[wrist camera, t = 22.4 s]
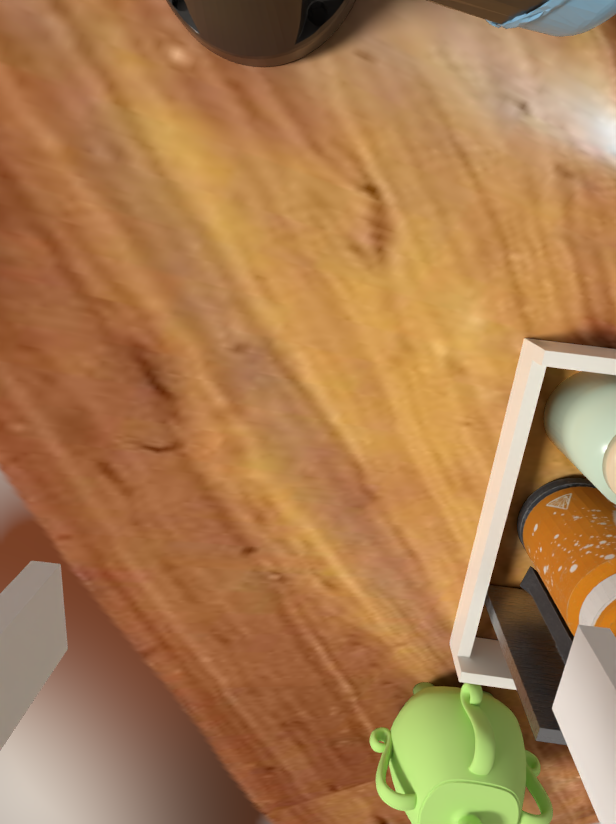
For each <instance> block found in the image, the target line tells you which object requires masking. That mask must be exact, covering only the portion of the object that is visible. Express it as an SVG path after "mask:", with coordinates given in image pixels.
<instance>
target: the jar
mask: <svg viewBox="0 0 616 824" xmlns="http://www.w3.org/2000/svg"><path fill="white" fill-rule="evenodd" d="M543 420H544V427H545V431H546V433H547V435H548V437H549V439H550V440H551V441H552V442H553V444H554V445H555V446H556V447H557V448H558V449H559V450H560V451H561V452H562V453H563V454H564V455H565V456H566V457H567V458H568V459H569V460H570V461H571V462H572V463H573V464H574V465H575V466H576V467H577V468H578V469H579V470H580V471H581V472H582V473H583V474H584V475H585V476H586V477H587V479H588V480H589V481H590V482H591V483H592V484H593V485H594V486H595V487H596V488H597V489H598V490H599V491H600V492H601V493H602V494H603V495H604V496H605V497H606V498H607V499H608V500H610V501H611V502H613V503H614V504H616V375H610V374H602V373H594V372H586V371H582V372H579V373H576V374H574V375H572V376H570V377H569V378H567V379H566V380H564V381H563V382H562V383H560V384H559V385H558V386H557V387H556V389H555V390H554V391H553V392H552V394H551V395H550V397H549V399H548V401H547V403H546V406H545V410H544V418H543Z"/></svg>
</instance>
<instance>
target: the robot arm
mask: <svg viewBox="0 0 616 824" xmlns="http://www.w3.org/2000/svg"><path fill="white" fill-rule="evenodd" d="M166 1H167V3H168V4H169V6H170V7H171V9H172V10H173V12H174V13H175V15H176V16H177V17H178V18H179V20H180V21H181V22H182V24H183V25H184V26H185V27H186V29H187V30H188V31H189V32H190V33H191V34H192V35H193V36H194V37H195V38H196V39H197V40H198V41H199V42H200V43H201V44H202V45H204V46H205V47H206V48H208V49H209V50H210V51H212V52H213V53H215V54H217V55H219V56H220V57H222V58H225V59H227V60H229V61H232V62H235V63H238V64H242V65H247V66H255V67H269V66H277V65H282V64H286V63H289V62H292V61H295V60H297V59H299V58H302V57H304V56H305V55H307V54H309V53H311V52H312V51H314V50H315V49H316V48H318V47H319V46H320V45H322V44H323V43H324V42H325V41H326V40H327V39H328V38H329V37H330V36H331V35H332V34H333V33H334V32H335V31H336V30H337V29H338V27H339V26H340V25H341V24H342V22H343V21H344V19H345V18H346V16H347V15H348V13H349V11H350V10H351V8H352V6H353V4H354V2H355V0H166ZM427 1H430V2H433V3H436V4H439V5H442V6H445V7H448V8H452V9H455V10H458V11H461V12H464V13H467V14H470V15H473V16H476V17H479V18H483V19H485V20H486V21H487V22H488V23H489V24H491V25H493V26H495V27H498V28H499V27H503V28H506V29H508V28H516V27H520V28H524V29H528V30H532V31H536V32H540V33H544V34H548V35H552V36H573V35H576V34H581V33H584V32H586V31H588V30H590V29H593V28H595V27H597V26H598V25H600V24H602V23H603V22H605V21H607V20H608V19H609V18H611V17H612V16H614V15H615V14H616V0H427ZM67 649H68V647H67V635H66V624H65V612H64V599H63V588H62V576H61V565H60V564H54V563H45V562H38V561H31V562H30V563H29V564H28V565H27V566H26V567H25V568H24V569H23V570H22V571H21V573H19V575H18V576H17V577H16V578H15V579H14V580H13V581H12V582H11V583H10V584H9V585H8V586H7V587H6V588H5V590H3V591H2V593H1V594H0V750H1V749H2V747H3V746H4V744H5V743H6V741H7V740H8V738H9V737H10V735H11V734H12V732H13V731H14V729H15V728H16V726H17V725H18V723H19V722H20V720H21V719H22V717H23V716H24V714H25V713H26V711H27V709H28V708H29V706H30V705H31V704H32V702H33V701H34V699H35V697H36V696H37V694H38V693H39V691H40V690H41V688H42V687H43V685H44V684H45V682H46V681H47V679H48V678H49V676H50V675H51V673H52V672H53V670H54V669H55V667H56V666H57V664H58V663H59V661H60V660H61V658H62V657H63V655H64V654H65V652H66V651H67ZM552 710H553V712H554V715H555V717H556V720H557V722H558V724H559V727H560V729H561V731H562V734H563V736H564V739H565V741H566V743H567V746H568V748H569V750H570V753H571V755H572V758H573V760H574V762H575V765H576V767H577V770H578V772H579V774H580V777H581V779H582V781H583V784H584V786H585V789H586V791H587V793H588V796H589V798H590V800H591V803H592V805H593V808H594V810H595V812H596V815H597V817H598V819H599V822H600V824H616V637H615V636H614V634H613V633H612V631H611V630H610V628H603V627H594V626H586V625H578V627H577V630H576V633H575V636H574V640H573V643H572V646H571V649H570V652H569V656H568V659H567V662H566V665H565V668H564V671H563V675H562V678H561V681H560V684H559V687H558V690H557V694H556V697H555V700H554V703H553V706H552Z"/></svg>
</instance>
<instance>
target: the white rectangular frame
mask: <svg viewBox="0 0 616 824" xmlns="http://www.w3.org/2000/svg"><path fill="white" fill-rule="evenodd" d="M546 367H554V368H562V369H570V370H578V371H586V372H594V373H602V374H610V375H616V349H611V348H603V347H595V346H587V345H578V344H570V343H562V342H554V341H546V340H537V339H529V338H524V341H523V345H522V349H521V353H520V357H519V361H518V365H517V369H516V374H515V378H514V382H513V386H512V390H511V394H510V398H509V402H508V406H507V410H506V414H505V418H504V422H503V427H502V431H501V435H500V439H499V443H498V447H497V451H496V455H495V459H494V463H493V467H492V471H491V476H490V480H489V484H488V488H487V492H486V496H485V500H484V504H483V508H482V512H481V516H480V520H479V524H478V529H477V533H476V537H475V541H474V545H473V549H472V553H471V557H470V561H469V565H468V569H467V573H466V577H465V582H464V586H463V590H462V594H461V598H460V602H459V606H458V610H457V614H456V618H455V622H454V626H453V631H452V635H451V639H450V643H449V644H450V648H451V652H452V656H453V660H454V664H455V668H456V672H457V676H458V680H459V682H463V683H470V684H477V685H484V686H491V687H499V688H506V689H513V690H517V689H516V686H515V683H514V681H513V678H512V675H511V673H510V670H509V667H508V665H507V662H506V659H505V657H504V654H503V651H502V649H501V646H500V643H499V640H492V639H485V638H477V637H475V636H476V632H477V628H478V625H479V621H480V617H481V613H482V609H483V606H484V602H485V598H486V594H487V590H488V587H489V583H490V579H491V575H492V571H493V568H494V564H495V560H496V556H497V552H498V549H499V545H500V541H501V537H502V533H503V530H504V526H505V522H506V518H507V515H508V511H509V507H510V503H511V499H512V496H513V492H514V488H515V484H516V480H517V477H518V473H519V469H520V465H521V461H522V458H523V454H524V450H525V446H526V442H527V439H528V435H529V431H530V427H531V423H532V420H533V416H534V412H535V408H536V405H537V401H538V397H539V393H540V389H541V386H542V382H543V378H544V374H545V370H546Z"/></svg>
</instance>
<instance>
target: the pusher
mask: <svg viewBox="0 0 616 824" xmlns="http://www.w3.org/2000/svg"><path fill="white" fill-rule="evenodd" d="M484 603H485V605H486V608H487V611H488V614H489V616H490V619H491V622H492V624H493V627H494V630H495V632H496V635H497V638H498V640H499V643H500V646H501V649H502V651H503V654H504V657H505V659H506V662H507V665H508V667H509V670H510V673H511V675H512V678H513V681H514V683H515V686H516V689H517V692H518V694H519V697H520V700H521V702H522V705H523V708H524V710H525V713H526V716H527V718H528V721H529V724H530V727H531V729H532V732H533V735H534V737H535V740H536V741H542V742H549V743H556V744H563V745H567V743H566V741H565V739H564V736H563V734H562V731H561V729H560V727H559V724H558V722H557V720H556V717H555V715H554V712H553V710H552V706H553V703H554V700H555V697H556V694H557V690H558V687H559V684H560V681H561V678H562V675H563V671H564V668H565V664H564V661H563V660H562V657H561V656H560V653H559V652H558V650H557V648H556V646H555V645H556V643H555V641H554V639H553V637H552V635H551V633H550V631H549V629H548V627H547V625H546V623H545V621H544V619H543V617H542V615H541V613H540V611H539V609H538V607H537V605H536V603H535V601H534V599H533V597H532V596H531V595H530V594H529V593H528V592H527V591H525V590H524V589H516V588H509V587H501V586H494V585H489V587H488V590H487V594H486V598H485V602H484Z"/></svg>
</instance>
